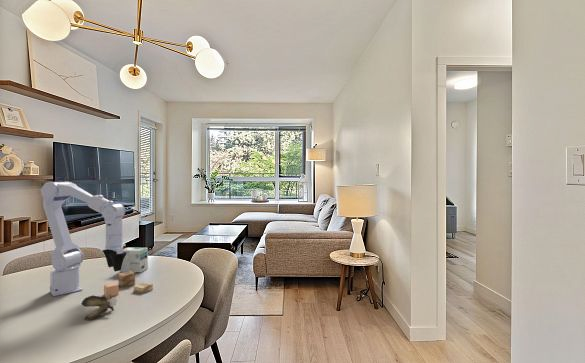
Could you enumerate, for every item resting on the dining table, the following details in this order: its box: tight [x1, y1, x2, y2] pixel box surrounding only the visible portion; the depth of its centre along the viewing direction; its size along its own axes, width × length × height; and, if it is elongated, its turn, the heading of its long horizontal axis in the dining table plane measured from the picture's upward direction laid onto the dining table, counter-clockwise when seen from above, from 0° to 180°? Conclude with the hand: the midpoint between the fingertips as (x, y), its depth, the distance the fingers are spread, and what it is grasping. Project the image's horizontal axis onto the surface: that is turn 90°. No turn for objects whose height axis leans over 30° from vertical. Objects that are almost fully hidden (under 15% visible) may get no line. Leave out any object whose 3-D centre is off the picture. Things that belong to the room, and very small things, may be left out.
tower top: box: [117, 271, 136, 282], centre depth 132 cm, size 5×5×2 cm
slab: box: [133, 281, 154, 294], centre depth 125 cm, size 5×5×2 cm
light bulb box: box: [119, 247, 149, 273], centre depth 151 cm, size 11×7×11 cm, turn 84°
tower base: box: [118, 278, 136, 288], centre depth 132 cm, size 5×5×2 cm
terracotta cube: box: [103, 281, 120, 298], centre depth 120 cm, size 4×4×4 cm
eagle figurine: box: [81, 294, 117, 321], centre depth 103 cm, size 8×7×9 cm
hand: (114, 268), depth 122 cm, fingers open, 7 cm apart
